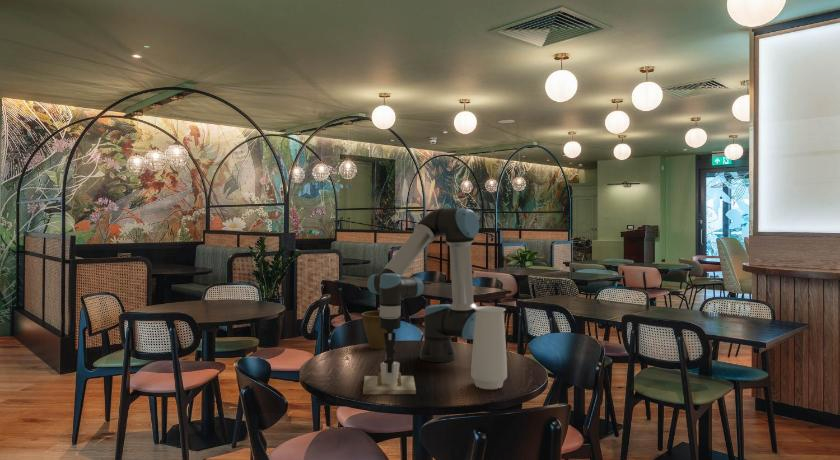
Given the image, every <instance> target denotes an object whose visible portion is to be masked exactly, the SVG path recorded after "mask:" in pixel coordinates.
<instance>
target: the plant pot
mask: <svg viewBox="0 0 840 460" xmlns="http://www.w3.org/2000/svg"><path fill="white" fill-rule="evenodd" d="M361 317H362V323H363V328H364V329H363V330H364V332H365V337H366V340H367V343H368V345H369V347H370V349H373V350H384V349H386V346H385V339H384V333H386V329H381V328H380V327H379V319H380V317H381V316H380V310H371V311H365V312H362V313H361Z"/></svg>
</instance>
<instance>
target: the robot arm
mask: <svg viewBox="0 0 840 460" xmlns="http://www.w3.org/2000/svg"><path fill="white" fill-rule="evenodd" d="M479 230H480V222H479V218H478V216H477V214H476V213H475V212H474V211H473V210H472V209H470V208H463V207H457V208H455V207H454V208H445V207H443V208H441V207H440V208H437V209H434V210H432V211H431V212H429V213H426V215H425V216H424V217H422V219H420V220H419V221H418V222H417V224H416V225H415V226H414V228H413V232H412V233H411V235H410V236H409V237H408V238H407V239H406V241H405V242H404V243H403V244H402V246H401V247H400V248H399V249H398V250H397V252H396V253H395V254H394V255H393V256H392V258H391V259H390V260H389V261H388V262H387V264H386V265H385V266H384V267H383V269H382V270H381V271H380V273H375V274H373V273H372V274H371V275H370V276H369V277H368V279H367V289H368V291H369V292H370V293H373V294H376V295H379V307H378V308H377V311H380V316H381V317H380V319H379V327H380V328H381V329H386V333H384V339H385V346H386V348H385V360H383V362H384V363H386V382H393V374H394V363H393V362H394V361H395V360H394V354H395V353H396V351H395V349H394V347H395V345H396V344H395V343H396V342H395V341H396V332H394V330H398V329H400V328H401V315H402V311H401V310H402V309H401V308H402V306H401V305H402V303H401V301H402V299H411V298H416V297H419V296H421V295H422V294H423V292H424V288H425V285H424V282H423V279H422V278H420V277H419V276H404V274H405V273H406V272H407V271H408V270H409V268H410V267H411V266H412V265H413V263H414V262H415V261H416V259H417V258H418V257H419V255H421V253H422V251H423V250H424V249H425V248H426V247H427V245H428V244H430V243H432V242H434V241H435V239H437V238H440V237H445V238H444V239H445V243H446V244H447V245H448V246H449V257H450V275H451V277H450V278H451V293H452V295H451V296H452V303H451V304H450V303H445V304H444V303H441V304H433V305H432V304H431V305H428V306H426V307H425V309H424V314H423V317H424V318H423V319H424V320H423V322H424V325H423V327H424V328H423V329H424V331H423V332H424V334H423V335H424V338H423V339H424V340H423V343H422V346H421V349H420V353H419V358H420V360H422V361H426V362H431V363H432V362H433V363H445V362H451V361H454V360H456V352H455V349H454V345H453V343H452V337H454V338H459V339H463V340H473V338H474V327H475V317H476V310H474V308H475V307H478V304H477V303H475V301H474V287H473V285H474V284H473V283H474V282H473V269H472V268H473V266H472V248H471V246H472V244H473V243H474V241H475V238H476V236H477V235H478V233H479Z"/></svg>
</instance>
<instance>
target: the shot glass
mask: <svg viewBox="0 0 840 460" xmlns="http://www.w3.org/2000/svg"><path fill="white" fill-rule="evenodd" d="M393 363H394V374H393V382H386V363H384V361H382V362H380V373H381V377H382V383H383V384H387V385H393V384H397V378H398V374H399V373H400V362H398V361H395V360H394V362H393Z"/></svg>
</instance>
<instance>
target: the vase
mask: <svg viewBox="0 0 840 460" xmlns="http://www.w3.org/2000/svg"><path fill="white" fill-rule="evenodd" d="M474 310H476V317H475V327H474V338H473V339H472V353H471V364H470V365H471V366H470V376H471V379H473V381H474V386H475V387H477V388H478V387H479V389H482V390H497V389H498V388H499V389H501V388H503V386H504V382H505V380H506V379H507V378H508V361H507V344H506V343H507V342H506V330H505V329H506V328H505V327H506V326H505V314H504V312H505V311H506V310H507V309H506V307H501V306H496V305H495V306H493V305H486V306H485V305H482V306H480V305H479V306H477V307H475V308H474Z"/></svg>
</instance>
